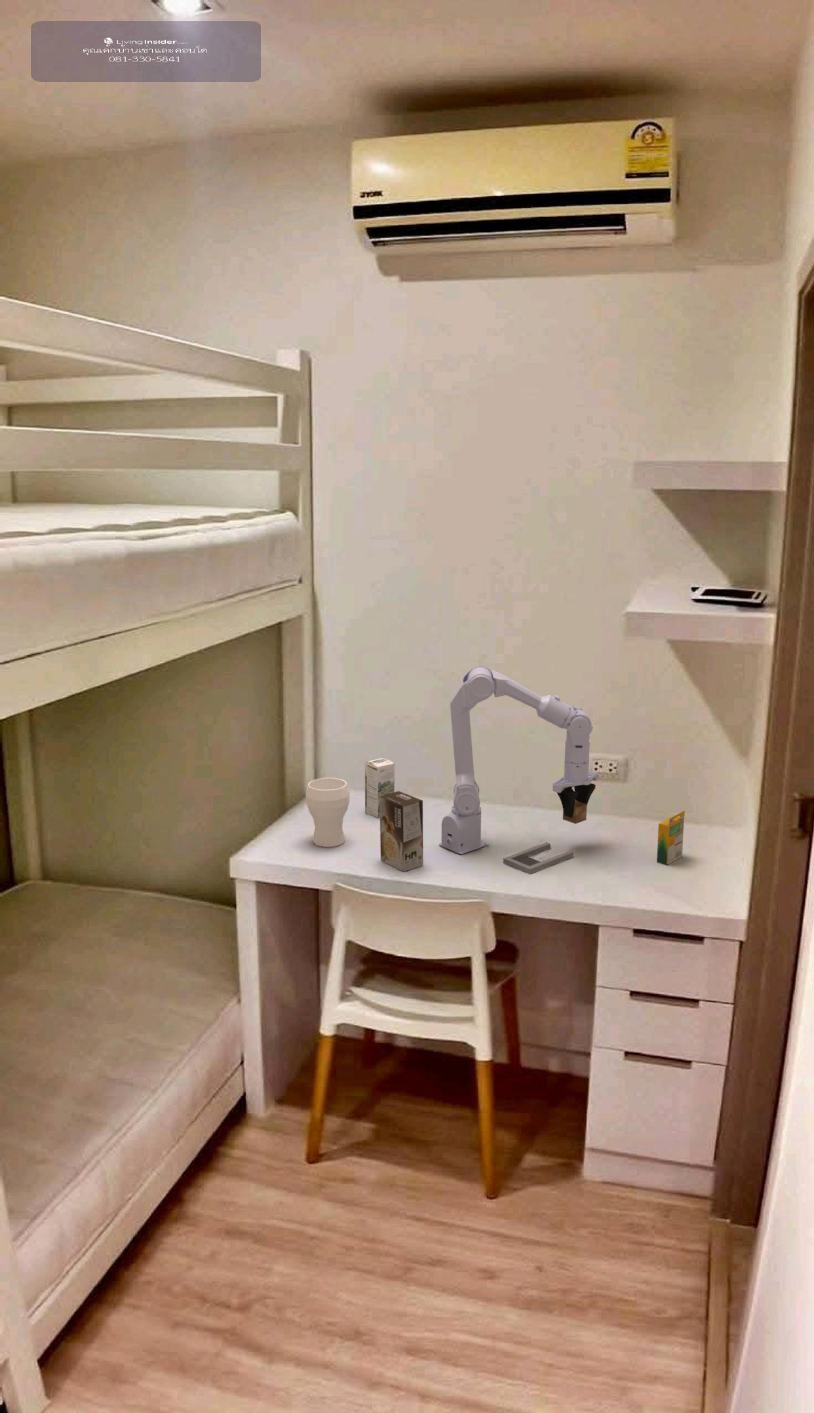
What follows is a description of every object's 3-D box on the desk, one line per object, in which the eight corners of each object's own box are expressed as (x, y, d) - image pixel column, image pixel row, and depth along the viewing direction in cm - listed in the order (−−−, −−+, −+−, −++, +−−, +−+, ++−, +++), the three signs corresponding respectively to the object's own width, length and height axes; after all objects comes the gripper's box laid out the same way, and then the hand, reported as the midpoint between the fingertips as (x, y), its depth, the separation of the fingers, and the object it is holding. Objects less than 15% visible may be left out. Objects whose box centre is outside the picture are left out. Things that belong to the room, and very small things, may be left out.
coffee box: (424, 865, 234) (424, 800, 230) (403, 872, 230) (403, 806, 226) (399, 853, 241) (399, 790, 237) (378, 860, 237) (378, 796, 233)
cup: (306, 849, 243) (304, 791, 240) (308, 833, 254) (307, 777, 250) (349, 849, 244) (348, 790, 240) (350, 833, 254) (349, 776, 250)
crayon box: (671, 853, 241) (674, 807, 238) (682, 856, 239) (685, 810, 236) (655, 862, 236) (658, 815, 233) (667, 865, 234) (670, 818, 231)
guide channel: (529, 874, 229) (529, 869, 229) (503, 862, 235) (503, 858, 235) (573, 856, 239) (573, 852, 238) (546, 846, 245) (546, 842, 245)
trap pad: (532, 868, 232) (532, 867, 232) (516, 862, 236) (516, 860, 236) (543, 864, 235) (543, 862, 234) (528, 857, 238) (528, 856, 238)
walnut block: (575, 823, 240) (576, 808, 239) (562, 819, 243) (563, 803, 242) (586, 819, 243) (587, 804, 242) (573, 815, 246) (574, 800, 245)
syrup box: (381, 808, 272) (381, 756, 268) (395, 813, 267) (394, 761, 264) (364, 812, 268) (363, 761, 265) (378, 818, 264) (377, 766, 260)
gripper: (569, 770, 232) (567, 825, 235) (609, 758, 241) (606, 811, 244) (546, 763, 237) (545, 817, 240) (586, 751, 246) (584, 804, 250)
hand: (574, 814), depth 243 cm, fingers closed on walnut block, 4 cm apart
